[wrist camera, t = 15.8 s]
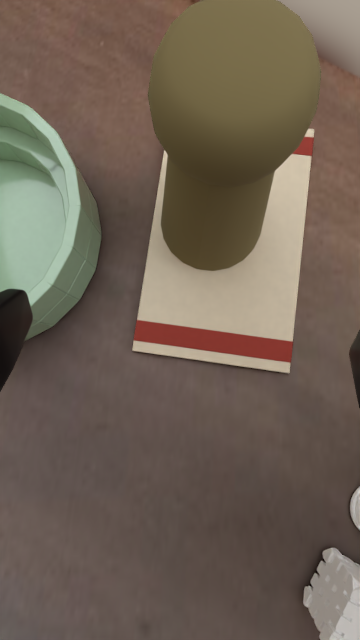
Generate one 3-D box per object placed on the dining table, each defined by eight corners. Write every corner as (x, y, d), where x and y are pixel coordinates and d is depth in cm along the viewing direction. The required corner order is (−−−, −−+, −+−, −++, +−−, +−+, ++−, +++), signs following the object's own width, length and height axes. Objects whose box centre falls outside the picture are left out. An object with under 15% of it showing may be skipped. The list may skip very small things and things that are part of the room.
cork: (197, 156, 20) (208, -91, 9) (281, 208, 19) (401, 13, 8) (140, 235, 19) (79, 75, 8) (225, 290, 19) (276, 196, 8)
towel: (312, 133, 20) (314, 128, 20) (287, 373, 19) (289, 373, 18) (170, 117, 21) (169, 112, 20) (133, 350, 19) (131, 350, 19)
